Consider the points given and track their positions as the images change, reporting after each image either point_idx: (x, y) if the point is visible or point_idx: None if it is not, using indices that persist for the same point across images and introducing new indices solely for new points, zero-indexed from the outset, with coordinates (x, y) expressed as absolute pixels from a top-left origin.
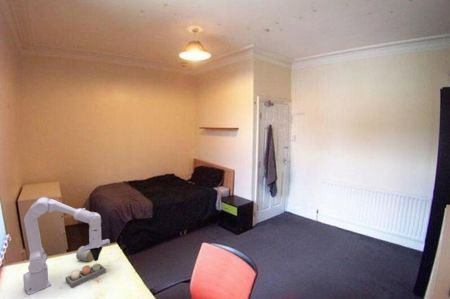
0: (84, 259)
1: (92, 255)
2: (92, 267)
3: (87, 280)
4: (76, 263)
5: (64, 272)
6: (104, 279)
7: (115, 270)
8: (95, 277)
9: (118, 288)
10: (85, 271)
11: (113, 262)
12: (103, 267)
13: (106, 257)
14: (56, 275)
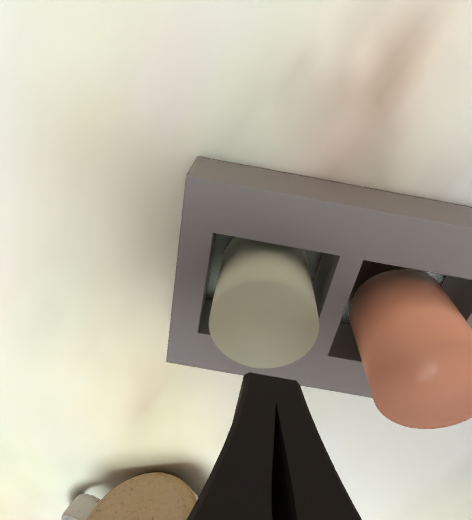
0: None
1: (126, 516)
2: None
3: (455, 206)
4: None
5: (398, 494)
6: (324, 8)
7: (77, 84)
8: (345, 185)
9: None
10: (466, 325)
11: (9, 279)
12: (189, 237)
13: (26, 410)
14: (458, 506)
